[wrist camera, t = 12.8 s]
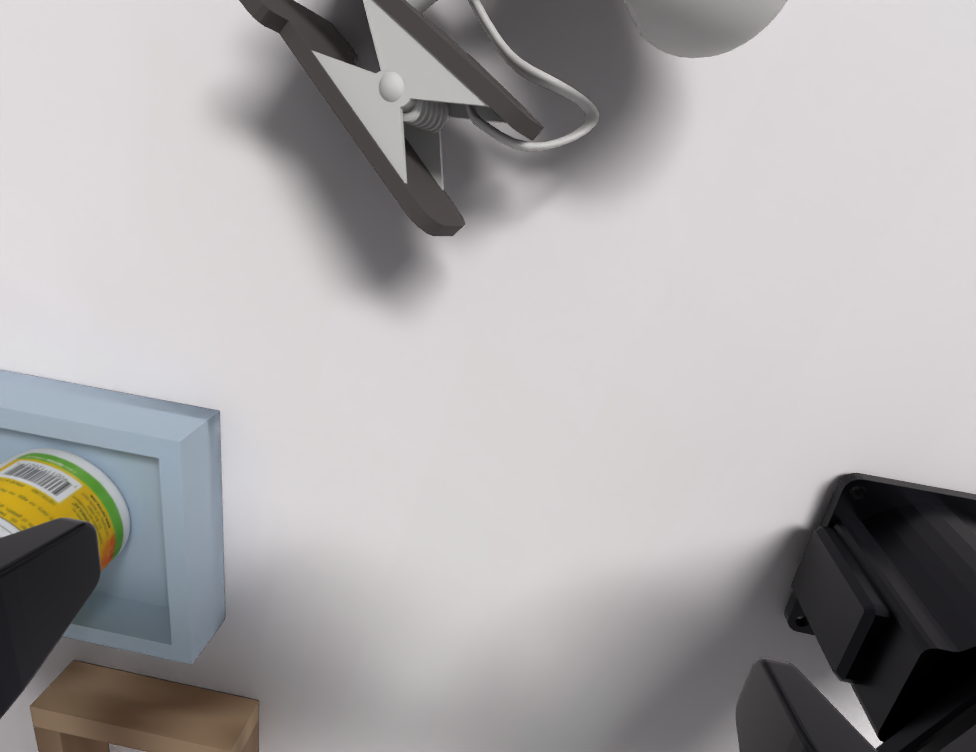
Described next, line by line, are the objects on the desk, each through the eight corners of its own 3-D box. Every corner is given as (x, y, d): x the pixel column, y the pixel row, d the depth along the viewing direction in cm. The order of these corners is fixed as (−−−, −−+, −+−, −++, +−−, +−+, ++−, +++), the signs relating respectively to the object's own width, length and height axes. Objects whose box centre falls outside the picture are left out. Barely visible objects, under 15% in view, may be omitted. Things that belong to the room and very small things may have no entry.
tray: (219, 410, 23) (179, 441, 20) (225, 618, 27) (192, 664, 24) (-81, 354, 24) (-152, 378, 21) (-34, 564, 27) (-90, 603, 25)
